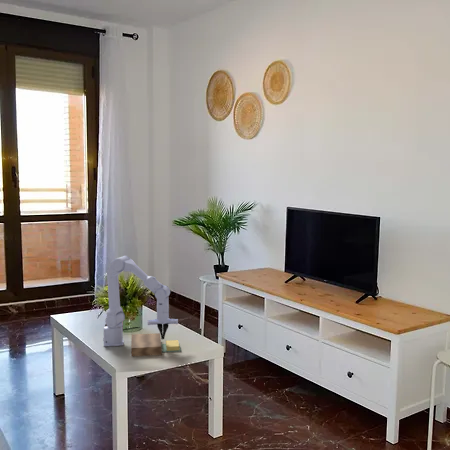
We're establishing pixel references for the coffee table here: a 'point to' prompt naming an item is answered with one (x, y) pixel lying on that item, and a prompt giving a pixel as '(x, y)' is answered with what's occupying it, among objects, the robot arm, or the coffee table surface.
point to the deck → (146, 344)
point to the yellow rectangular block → (172, 345)
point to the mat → (169, 351)
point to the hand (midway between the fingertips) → (162, 338)
